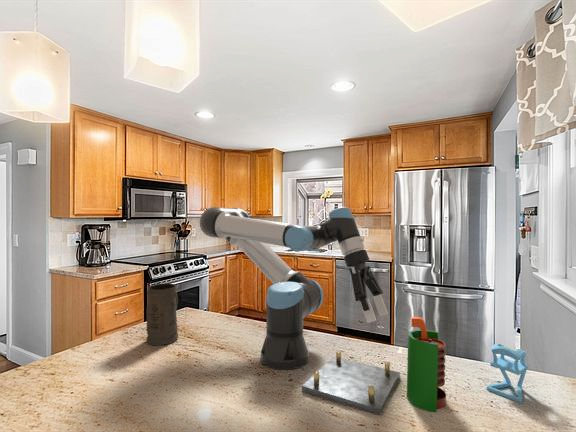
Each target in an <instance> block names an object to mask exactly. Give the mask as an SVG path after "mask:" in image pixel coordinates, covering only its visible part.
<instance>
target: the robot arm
mask: <svg viewBox="0 0 576 432" xmlns="http://www.w3.org/2000/svg"><path fill="white" fill-rule="evenodd" d="M203 211H204V212H202V214H201V215H200V218H199V227H200V230H201V232H202V233H203V234H204V235H206V236H207V237H209V238H215V239H216V238H219V239H225V240H226V241H227V242H228V243H229V244H230V245H231V246H232V247H234V246H237V247H238V248H239V249H240V250H241V252H243V253H244V254H245V255H246V256H247V257H248V259H249V260H250V261H251V262H252V263H253V264H254V265H255V266H256V267H257V268H258V269H259V270H260V272H261V273H262V274H263V275H265V277H266V278H267V279H268V280H269V281H270V282H271V283H272V285H270V286H269V287H268V289H267V291H266V298H265V299H266V300H265V301H266V333H265V338H264V341H263V344H262V346H261V350H260V362H261V364H263V366H266V367H268V368H271V369H274V370H275V369H277V370H293V369H298V368H301V367H303V366H304V365H306V364H308V362H309V350H308V348H307V347H308V346H307V344H306V340H305V336H304V319H305V318H306V317H309V315H311V314H314V313H315V312H317V310H319V308H320V307H321V306H322V305H323V301H324V290H323V288H322V286H321V284H319V283H318V282H317V281H316V280H314V279H310V278H307V277H306V276H305V275H304V274H303V273H302V272H301V271H299V270H298V271H294V270H293V269H292V268H291V267H290V266H289V265H288V264H287V263H286V262H285V261H284V260H283V259H282V258H281V257H280V256H279V255H278V253H276V252H275V251H274V250H273V249H272V248H271V247H270V246H269V245H268V244H270V245H275V246H279V247H286V248H289V249H290V250H292V251H296V252H304V251H308V252H313V251H316V250H319V249H320V248H322V247H325V246H327V245H329V244H332V243H335V242H337V243H338V245H339V248H340V251H341V254H342V256H344V257H343V259H344V262H345V265H346V267H347V268H348V270H349V273H350V277H351V283H352V289H353V294H354V298H355V301H356V302H359V304H360V306H361V310H362V313H363V315H364V317H365V320H366V323H367V324H369V323H374V322H377V318H376V314H375V312H374V309H373V306H372V303H371V301H370V298H369V297H368V296H367V289H368V290H369V291H370V293H371V294H372V299H373V301H374V304H375V307H376V309H377V313H378V315H379V317H384V316H387V315H389V313H388V310H387V307H386V304H385V301H384V298H383V297H382V294H384V292H383V290H382V288H381V286H380V285H379V283H378V281H377V279H376V277H375V275H374V274H373V272H372V269H371V267H370V265H366V263H368V262H369V261H370V258H369V255H368V252H367V250H366V249H365V245H364V238H362V236H361V235H360V234H361V233H360V231H359V229H358V226H357V222H356V220H355V217H354V215H353V213H352V211H351V209H350V208H349V207H347V206H342V207H341V206H340V207H337V208H335V209H332V211H330V212H329V213H328V217H329V218H328V219H327V220H326V221H323V222H322V223H319V224H316V225H300V224H291V223H285V222H280V221H272V220H265V219H258V218H253V217H252V218H251V217H250V215H249V214H248V212H246V211H245V210H244V209H241V208H237V207H220V206H213V207H209V208H208V209H205V210H203Z"/></svg>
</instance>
